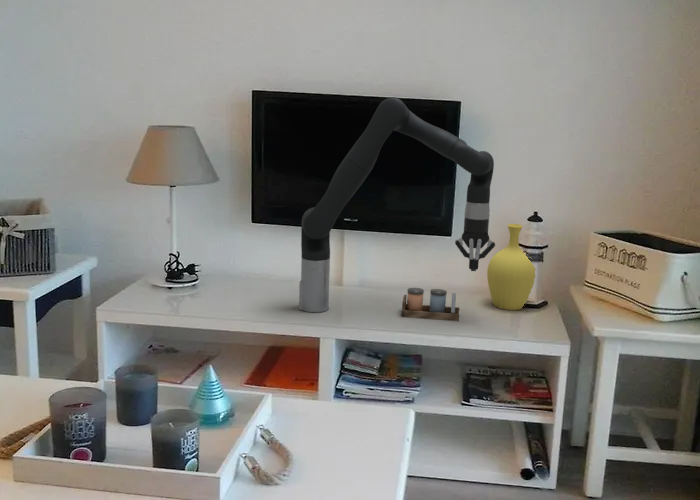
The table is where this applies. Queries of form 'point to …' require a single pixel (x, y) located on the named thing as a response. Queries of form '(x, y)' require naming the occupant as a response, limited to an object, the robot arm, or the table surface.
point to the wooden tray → (429, 313)
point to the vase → (510, 274)
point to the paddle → (453, 303)
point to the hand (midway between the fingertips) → (473, 270)
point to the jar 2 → (437, 300)
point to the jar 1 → (415, 299)
